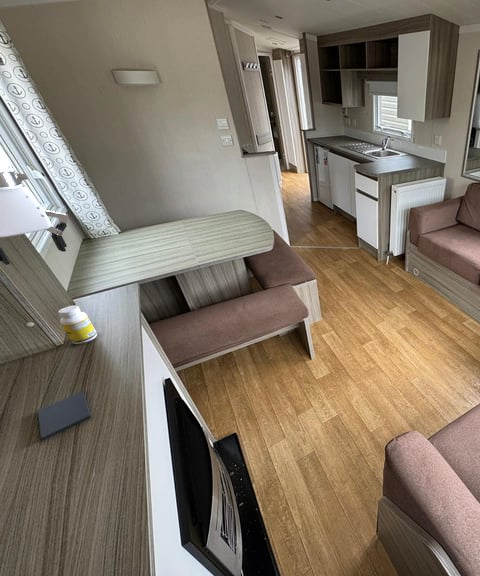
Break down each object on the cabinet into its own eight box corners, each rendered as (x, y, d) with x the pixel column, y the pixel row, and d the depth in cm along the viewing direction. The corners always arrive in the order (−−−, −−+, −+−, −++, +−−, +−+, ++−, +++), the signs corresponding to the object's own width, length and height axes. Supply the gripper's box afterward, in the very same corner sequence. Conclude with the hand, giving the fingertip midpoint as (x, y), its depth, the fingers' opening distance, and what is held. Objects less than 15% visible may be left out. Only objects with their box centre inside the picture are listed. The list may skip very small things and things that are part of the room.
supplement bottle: (71, 339, 85) (53, 309, 81) (96, 331, 89) (80, 301, 84) (73, 347, 82) (55, 316, 77) (99, 338, 85) (83, 308, 81)
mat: (39, 412, 62) (37, 409, 62) (84, 392, 67) (82, 390, 67) (42, 440, 56) (40, 438, 56) (91, 417, 61) (90, 415, 61)
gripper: (42, 176, 73) (76, 244, 81) (-77, 186, 60) (-23, 266, 68) (53, 178, 70) (87, 248, 78) (-71, 189, 57) (-15, 272, 64)
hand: (36, 256), depth 73 cm, fingers open, 9 cm apart
